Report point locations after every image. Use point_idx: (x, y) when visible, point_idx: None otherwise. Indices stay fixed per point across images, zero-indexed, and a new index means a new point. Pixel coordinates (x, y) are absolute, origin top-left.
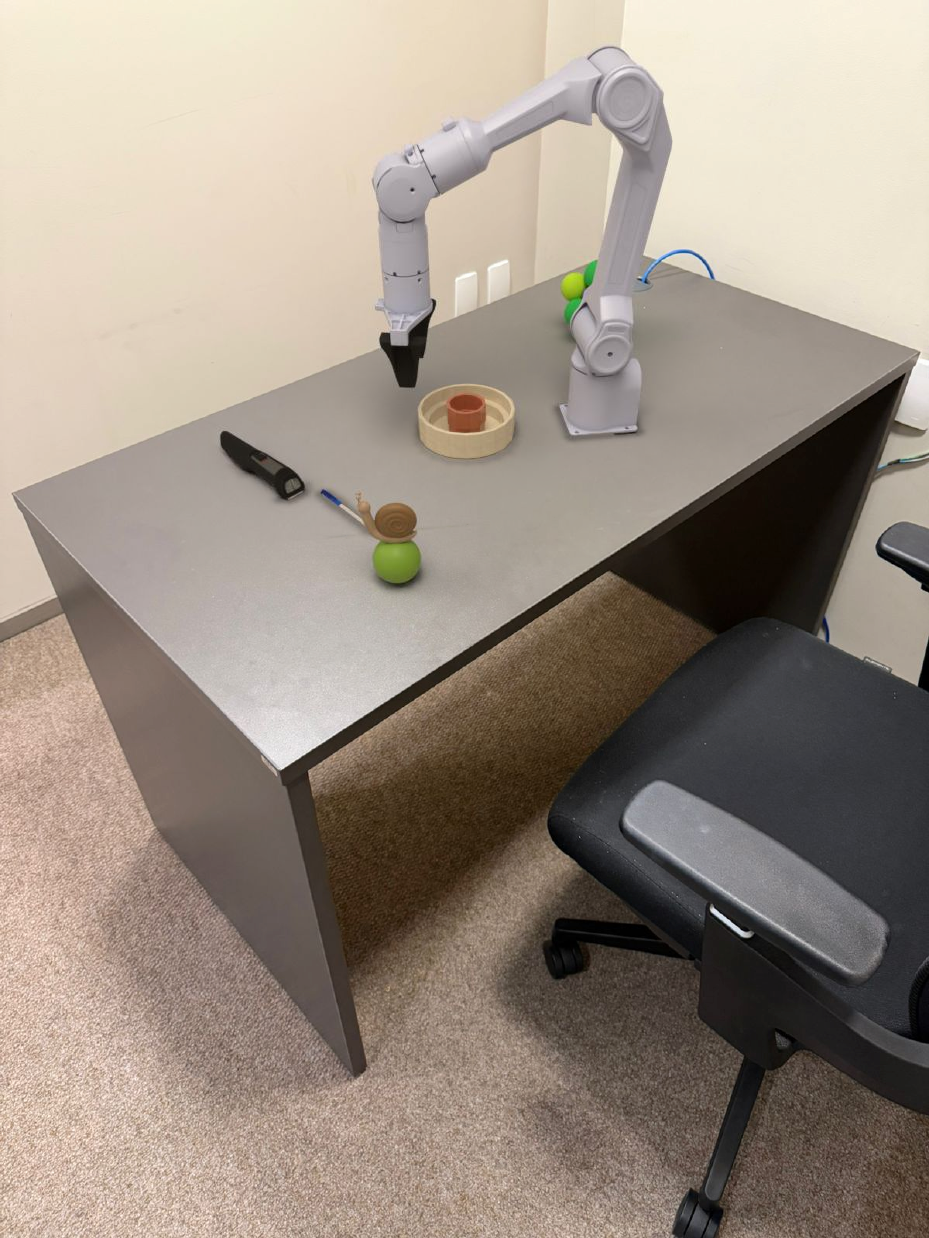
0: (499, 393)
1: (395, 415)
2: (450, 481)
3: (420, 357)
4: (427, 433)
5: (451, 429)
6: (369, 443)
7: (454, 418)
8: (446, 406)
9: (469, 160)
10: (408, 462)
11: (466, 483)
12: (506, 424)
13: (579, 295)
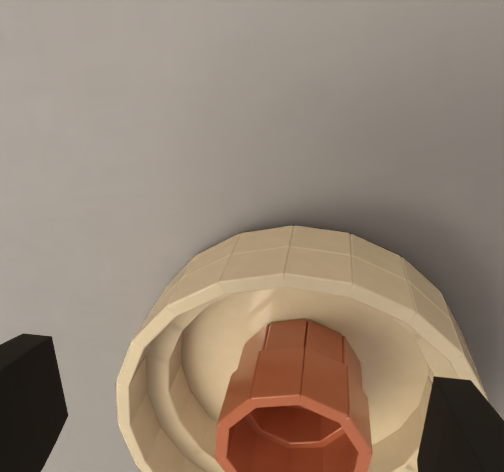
0: None
1: (446, 112)
2: (60, 318)
3: (421, 452)
4: (171, 292)
5: (256, 348)
6: (222, 30)
7: (229, 396)
8: (296, 380)
9: None
10: (125, 196)
11: (62, 354)
12: None
13: None
